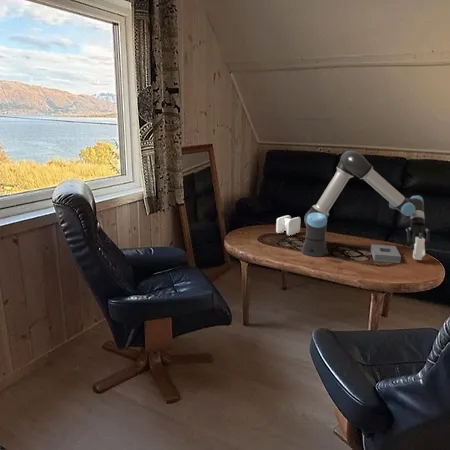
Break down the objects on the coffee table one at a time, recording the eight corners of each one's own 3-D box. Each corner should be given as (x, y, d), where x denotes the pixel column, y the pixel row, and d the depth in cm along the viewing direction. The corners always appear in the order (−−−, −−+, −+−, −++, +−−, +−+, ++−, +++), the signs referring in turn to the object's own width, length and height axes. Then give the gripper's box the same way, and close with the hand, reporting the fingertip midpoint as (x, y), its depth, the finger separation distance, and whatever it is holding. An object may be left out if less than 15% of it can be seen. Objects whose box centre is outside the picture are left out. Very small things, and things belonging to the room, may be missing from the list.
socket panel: (374, 261, 240) (374, 254, 239) (370, 250, 259) (371, 244, 258) (400, 263, 237) (401, 256, 236) (394, 252, 256) (395, 246, 255)
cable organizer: (287, 237, 284) (288, 220, 281) (275, 234, 291) (275, 217, 288) (300, 232, 294) (301, 216, 291) (287, 230, 301) (288, 214, 298)
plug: (414, 259, 238) (418, 234, 234) (412, 256, 243) (416, 231, 239) (421, 260, 237) (425, 234, 233) (419, 257, 242) (423, 232, 238)
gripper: (431, 224, 248) (433, 259, 237) (400, 221, 252) (401, 256, 241) (434, 217, 242) (437, 253, 231) (403, 215, 246) (404, 250, 234)
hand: (419, 255), depth 236 cm, fingers closed on plug, 4 cm apart
